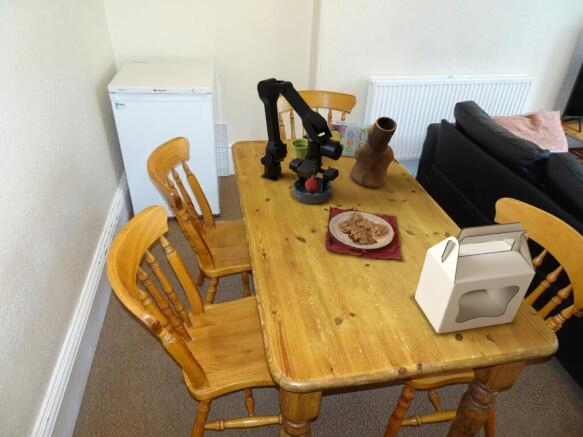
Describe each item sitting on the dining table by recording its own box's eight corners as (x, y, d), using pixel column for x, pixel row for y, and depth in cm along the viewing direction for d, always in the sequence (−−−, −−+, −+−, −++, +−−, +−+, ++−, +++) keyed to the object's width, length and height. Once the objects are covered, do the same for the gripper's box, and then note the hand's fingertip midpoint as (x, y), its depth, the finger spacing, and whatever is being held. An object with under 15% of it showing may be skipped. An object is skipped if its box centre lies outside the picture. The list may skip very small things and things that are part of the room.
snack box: (374, 155, 192) (379, 124, 184) (373, 160, 188) (378, 129, 179) (329, 149, 196) (332, 119, 188) (328, 154, 192) (330, 123, 183)
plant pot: (311, 166, 181) (312, 148, 176) (290, 165, 181) (290, 147, 176) (311, 157, 189) (312, 139, 184) (290, 156, 189) (291, 138, 184)
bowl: (285, 197, 158) (285, 188, 156) (304, 181, 169) (304, 172, 167) (320, 208, 152) (321, 199, 150) (337, 191, 163) (338, 182, 161)
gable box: (436, 334, 104) (466, 247, 89) (413, 297, 115) (435, 214, 99) (513, 322, 109) (554, 237, 93) (483, 288, 119) (516, 206, 104)
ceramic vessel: (383, 171, 179) (395, 103, 162) (395, 197, 161) (410, 124, 144) (347, 171, 178) (355, 102, 161) (355, 196, 160) (365, 123, 143)
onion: (303, 189, 163) (304, 171, 158) (318, 189, 163) (319, 171, 159) (305, 197, 158) (306, 179, 153) (320, 197, 158) (321, 178, 154)
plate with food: (324, 254, 130) (325, 245, 128) (329, 209, 151) (330, 201, 149) (400, 263, 128) (402, 254, 126) (394, 216, 149) (396, 208, 147)
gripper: (281, 153, 149) (281, 190, 157) (327, 166, 141) (324, 204, 150) (297, 143, 157) (295, 179, 165) (341, 155, 149) (337, 192, 158)
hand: (312, 188), depth 159 cm, fingers open, 9 cm apart
